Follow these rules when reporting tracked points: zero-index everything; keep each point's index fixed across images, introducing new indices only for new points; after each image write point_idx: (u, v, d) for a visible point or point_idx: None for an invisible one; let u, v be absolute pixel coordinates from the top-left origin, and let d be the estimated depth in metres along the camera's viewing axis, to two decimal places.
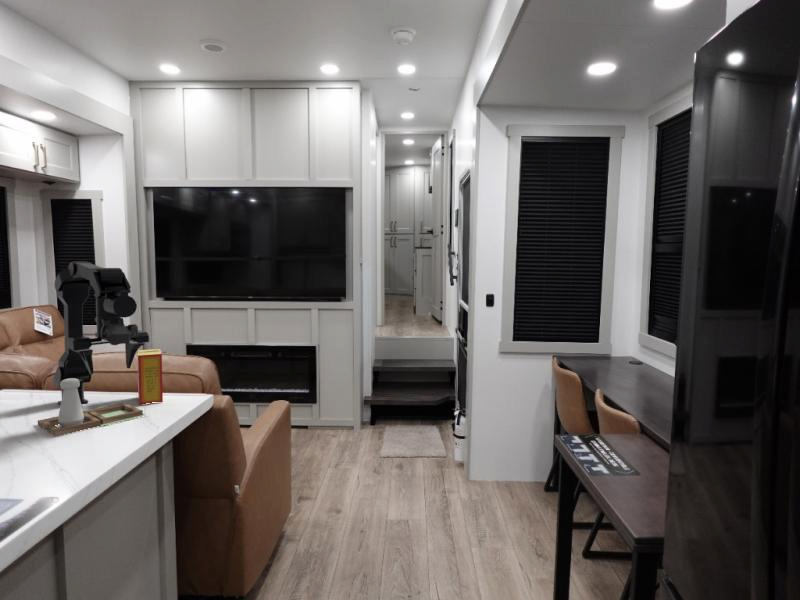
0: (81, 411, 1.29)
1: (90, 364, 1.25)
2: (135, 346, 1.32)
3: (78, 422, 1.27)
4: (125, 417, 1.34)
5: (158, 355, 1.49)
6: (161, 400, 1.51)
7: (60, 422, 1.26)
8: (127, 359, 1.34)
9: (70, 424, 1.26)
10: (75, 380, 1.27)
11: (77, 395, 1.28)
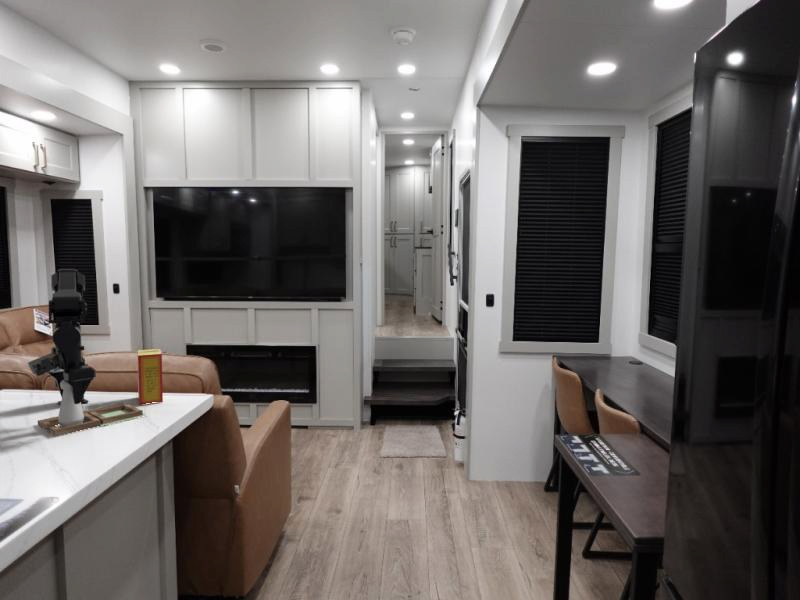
0: (81, 411, 1.29)
1: (58, 387, 1.30)
2: None
3: (78, 422, 1.27)
4: (125, 417, 1.34)
5: (158, 355, 1.49)
6: (161, 400, 1.51)
7: (60, 422, 1.26)
8: None
9: (70, 424, 1.26)
10: None
11: None
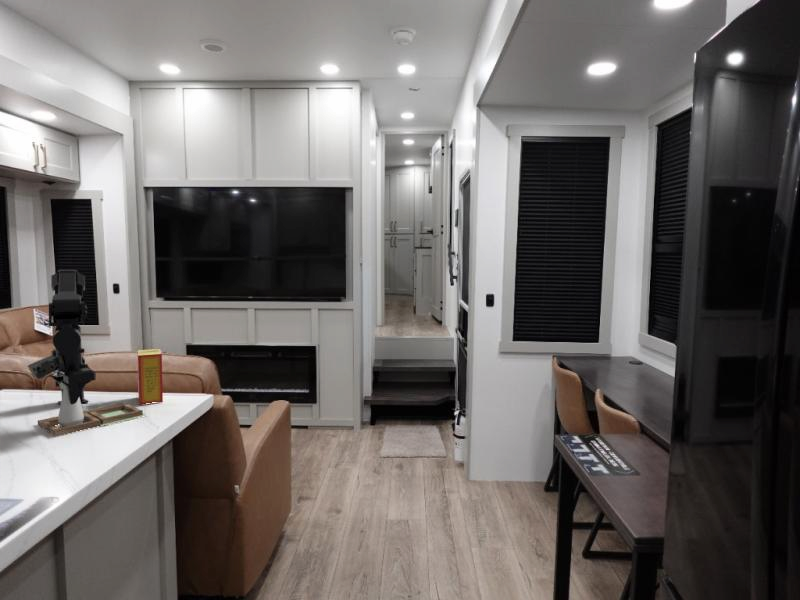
0: (81, 411, 1.29)
1: (62, 391, 1.28)
2: (62, 383, 1.24)
3: (78, 422, 1.27)
4: (125, 417, 1.34)
5: (158, 355, 1.49)
6: (161, 400, 1.51)
7: (59, 422, 1.26)
8: None
9: (70, 424, 1.26)
10: None
11: None
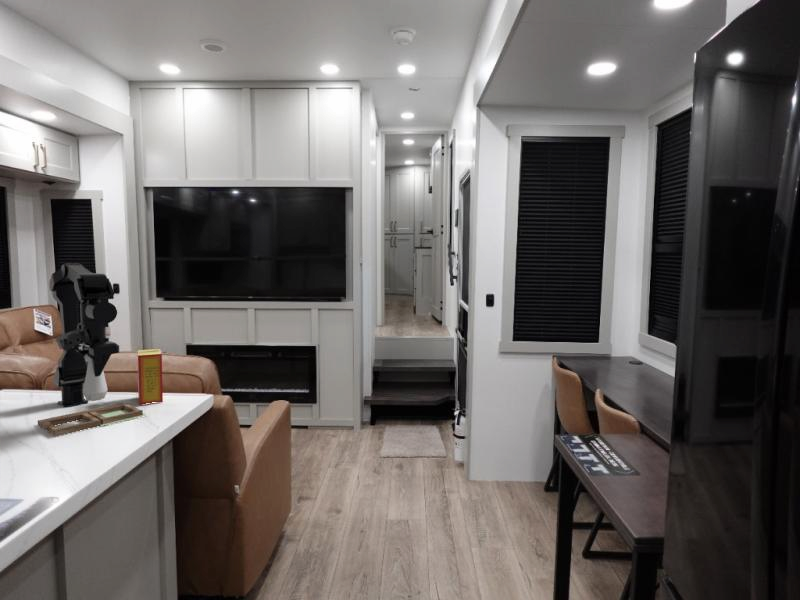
0: (105, 384, 1.33)
1: (87, 364, 1.33)
2: (87, 355, 1.28)
3: (102, 394, 1.32)
4: (125, 417, 1.34)
5: (158, 355, 1.49)
6: (161, 400, 1.51)
7: (84, 393, 1.30)
8: None
9: (94, 396, 1.30)
10: None
11: None
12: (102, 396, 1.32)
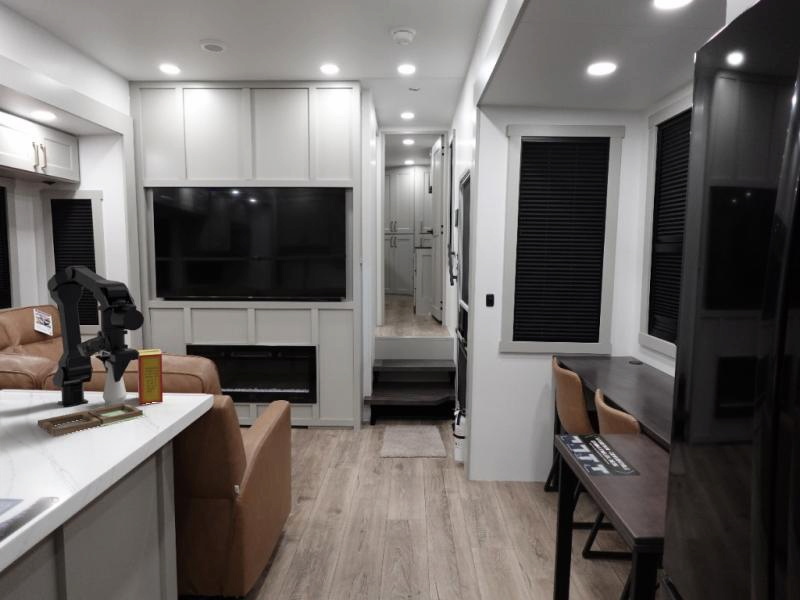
0: (124, 389, 1.37)
1: (106, 370, 1.37)
2: None
3: (121, 399, 1.36)
4: (125, 417, 1.34)
5: (158, 355, 1.49)
6: (161, 400, 1.51)
7: (105, 398, 1.34)
8: None
9: (114, 401, 1.34)
10: None
11: None
12: (121, 401, 1.36)
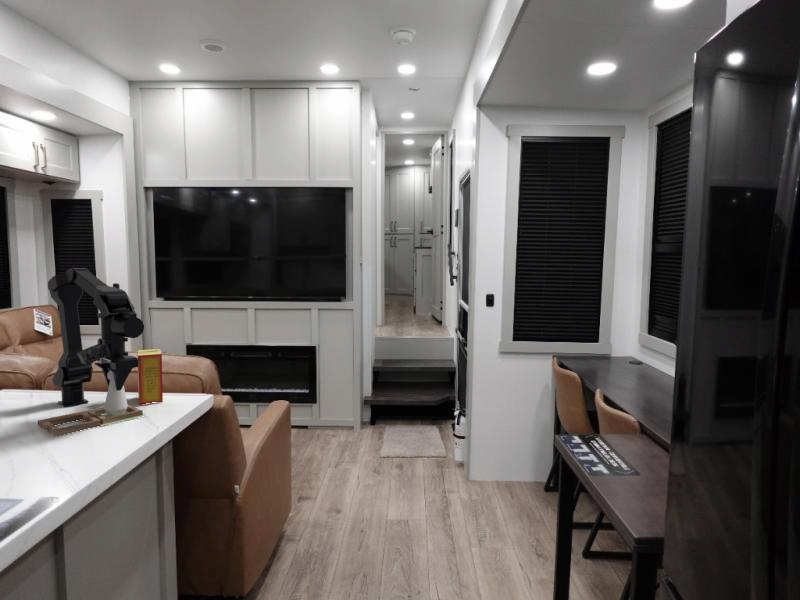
0: (125, 401, 1.37)
1: (105, 377, 1.37)
2: (109, 370, 1.32)
3: (122, 411, 1.36)
4: (125, 417, 1.34)
5: (158, 355, 1.49)
6: (161, 400, 1.51)
7: (106, 410, 1.34)
8: None
9: (115, 412, 1.35)
10: None
11: None
12: (122, 412, 1.37)
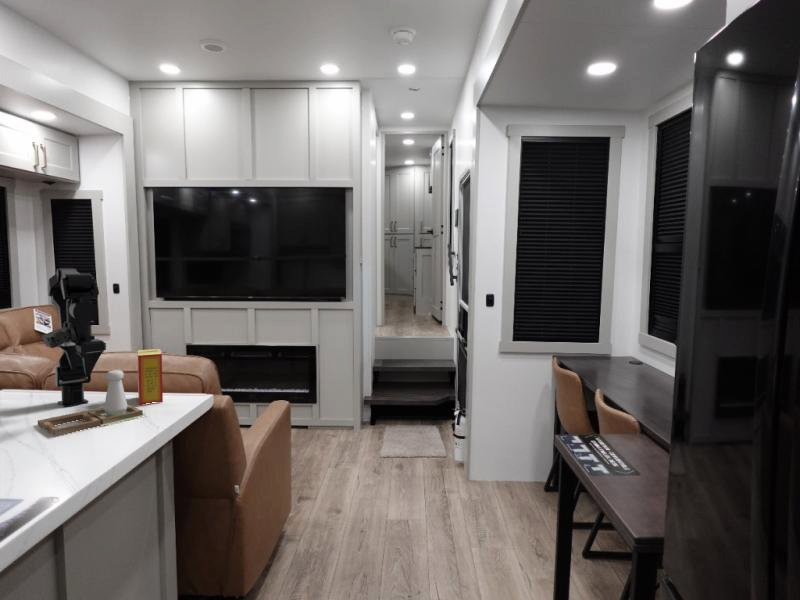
0: (125, 401, 1.37)
1: (68, 360, 1.38)
2: (78, 354, 1.30)
3: (122, 411, 1.36)
4: (125, 417, 1.34)
5: (158, 355, 1.49)
6: (161, 400, 1.51)
7: (106, 411, 1.34)
8: None
9: (115, 413, 1.35)
10: (120, 372, 1.36)
11: (121, 386, 1.37)
12: (122, 413, 1.37)
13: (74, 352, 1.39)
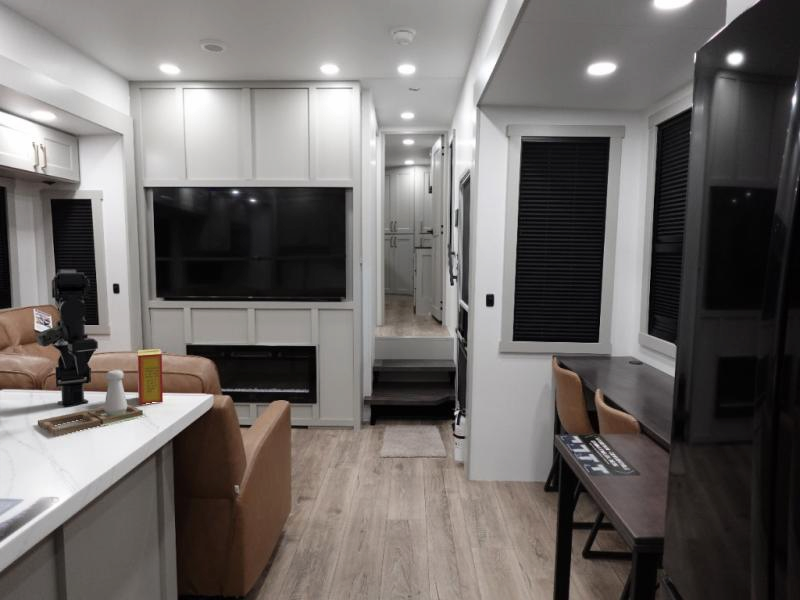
0: (125, 401, 1.37)
1: (62, 359, 1.38)
2: (69, 353, 1.30)
3: (122, 411, 1.36)
4: (125, 417, 1.34)
5: (158, 355, 1.49)
6: (161, 400, 1.51)
7: (106, 411, 1.34)
8: None
9: (115, 413, 1.35)
10: (120, 372, 1.36)
11: (121, 386, 1.37)
12: (122, 413, 1.37)
13: (68, 351, 1.39)
